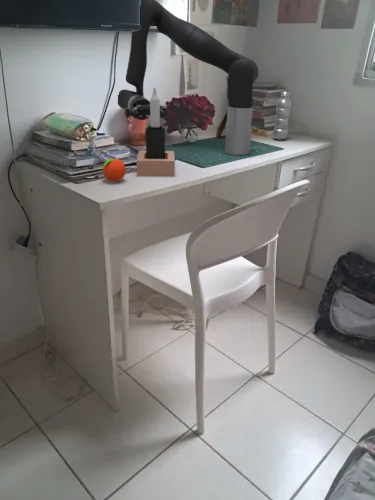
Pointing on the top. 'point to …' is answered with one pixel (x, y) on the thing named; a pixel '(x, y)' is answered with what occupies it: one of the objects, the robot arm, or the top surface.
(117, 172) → the clementine
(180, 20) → the robot arm
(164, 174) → the holder block
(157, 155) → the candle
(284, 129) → the plastic bottle
